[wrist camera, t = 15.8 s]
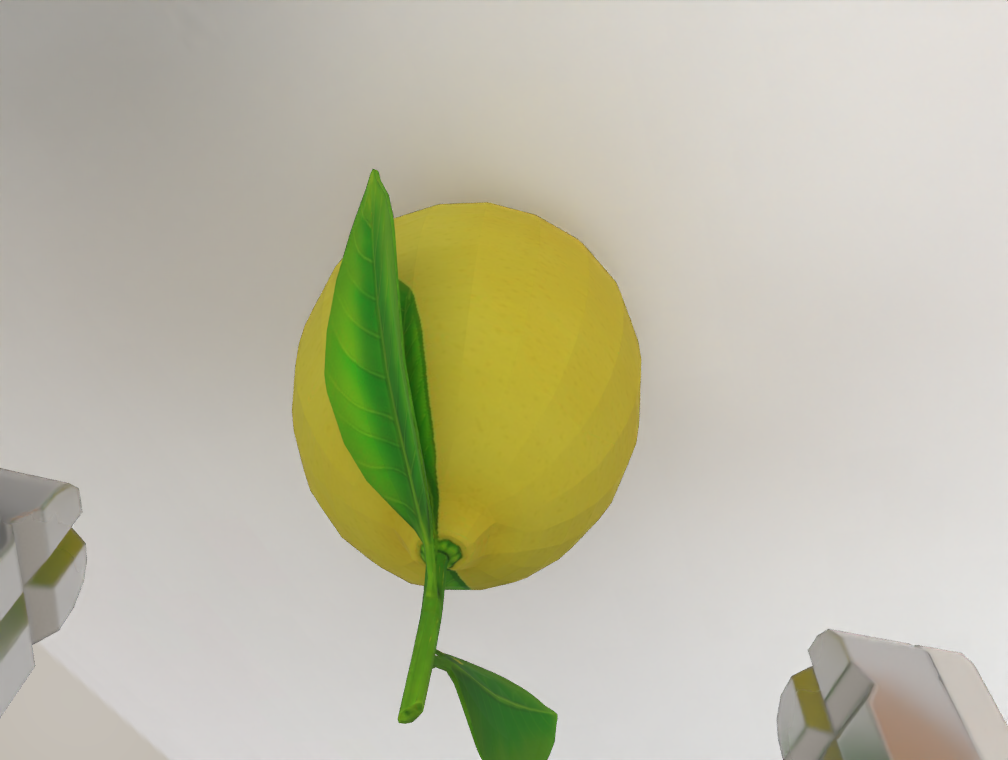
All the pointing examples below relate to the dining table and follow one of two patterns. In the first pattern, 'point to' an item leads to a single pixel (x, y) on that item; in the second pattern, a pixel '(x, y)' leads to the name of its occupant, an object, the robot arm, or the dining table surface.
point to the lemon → (466, 418)
